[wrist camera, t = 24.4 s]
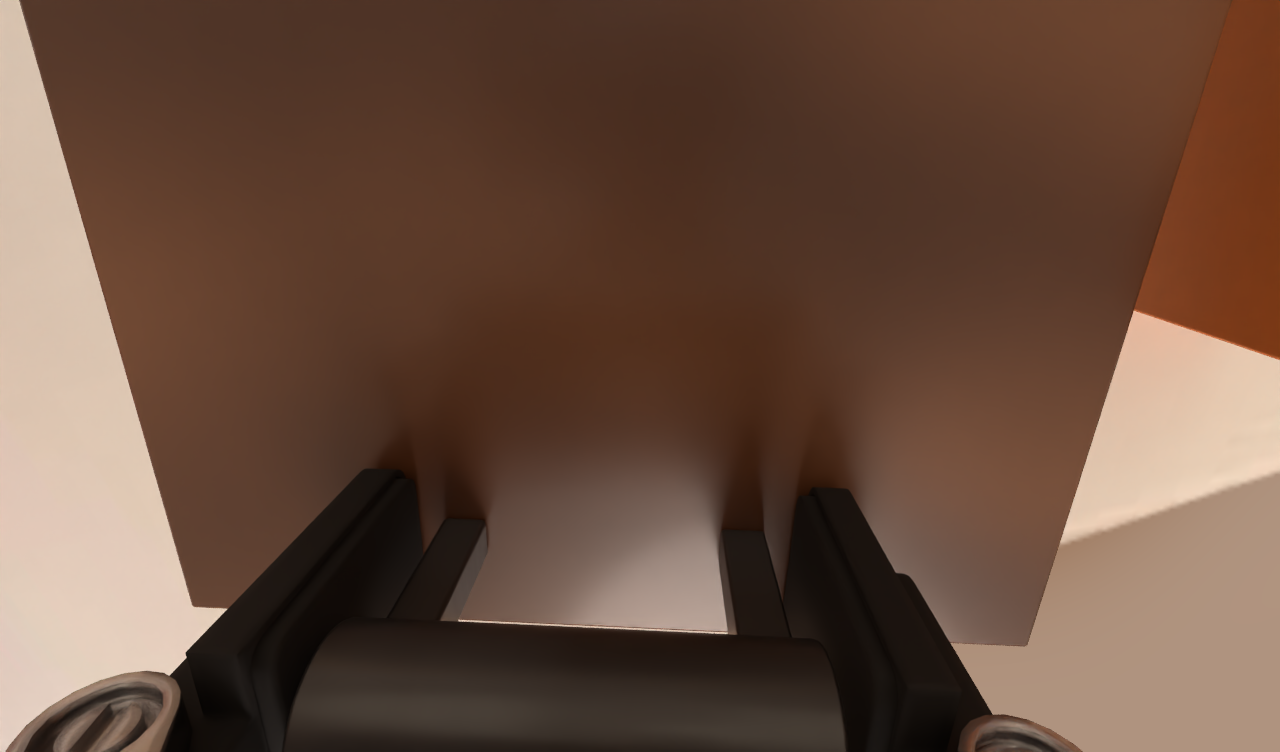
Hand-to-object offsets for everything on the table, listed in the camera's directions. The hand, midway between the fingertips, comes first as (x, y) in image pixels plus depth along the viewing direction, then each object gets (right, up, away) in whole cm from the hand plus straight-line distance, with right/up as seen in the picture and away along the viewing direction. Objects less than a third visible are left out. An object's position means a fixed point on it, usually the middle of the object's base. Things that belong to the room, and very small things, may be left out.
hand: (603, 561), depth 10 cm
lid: (0, +7, -1) cm, 7 cm away
